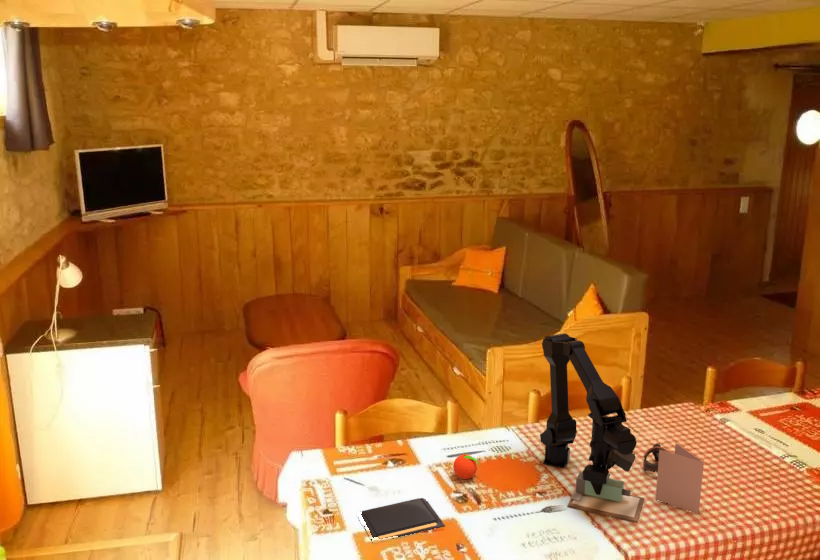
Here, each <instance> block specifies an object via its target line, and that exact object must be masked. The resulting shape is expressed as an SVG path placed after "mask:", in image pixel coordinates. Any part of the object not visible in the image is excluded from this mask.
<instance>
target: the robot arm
mask: <svg viewBox="0 0 820 560" xmlns="http://www.w3.org/2000/svg"><path fill="white" fill-rule="evenodd" d="M541 346H542V352H543V356H544V358H545V360H546V361H547V362H548V364H549V375H550V376H549V377H550V398H551V399H550V400H551V403H550V404H551V412H550V414H549V416H548V418H547V420H546V425H545V426H546V429H545V430H544V431H543V432H541V433H540V435H539V439H540V443H542V444H543V445H544V446H545V447H544V460H542V464H543V465H547V466H552V467H556V468H557V467H558V468H561V469H562V468H563V469H564V468H566V466H567V464H569V462H570V461H571V459H570V455H571V448H570V447H569V445H570V444H574V442H575V439H576V437H577V433H578V430H577V420H576V419H575V418H573V417H572V415H571V414H570V411H569V410H570V407H569V406H570V405H569V403H570V402H569V382H568V381H569V377H568V364H569V362H570V363H571V365H572V367H573V369H574V370H575V372H576V373H577V375H578V378H579V379H580V382H581V383H582V385H583V387H584V389H585V391H586V397H585V401H586V403H587V406H588V408H589V411H590V413H588V414H587V417H589V418H590V419H592V423H591V424H592V425H591V440H590V442H589V448H590V455H589V456H588V457H589V458H588V461H589V462H592V464H590V463H589V464H587V465H585V467H584V469H583V471H582V472H583V473H582V479H583V480H586V481H590V482H591V484H592V486H593V489H594V491H595V493H596V494H597V495H600V493H601V490H602V486H603V484H606V483H607V481H608V479H610V476H611V474H610V471H609V470H610V469H612V468H613V467H614V466H616V467H618V468H620V469H622V470H623V471H624V472H627V473H628V472H630V471H631V468H632V466H633V464H634V462H635V460H636V453H634V450H635V449H636V446H637V441H638V440H637V438H636V437H635V435H634V434H632V433H631V431H632V430H631V428H630V427H627V426H625V425H624V424H623V423H626V422H627V420H628V419H627V417H626V414H627V413H626V412H625V410H624V408H623V405H622V402H621V400H620V397H619V396H618V394H617V393H616V391H615V390H614V389H613V388H612V387H611V386H610V385H608V384H607V383H605V382H604V380H603V379H602V377H601V376H600V374H599V372H598V370H597V369H596V367H595V365H594V363H593V361H592V359H591V358H590V356H589V354H588V353H587V350H586V347H585V343H584V342H583V341H582V340H578V338H576V337H573V336H570V335H569V334H567V333H557V334H551V335H550V334H549V335H546V336H545V337H544V338H543V339H542V343H541ZM614 414H615V415H614ZM608 415H612V416H608Z"/></svg>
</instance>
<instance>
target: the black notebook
mask: <svg viewBox="0 0 820 560" xmlns="http://www.w3.org/2000/svg"><path fill="white" fill-rule="evenodd" d="M426 500H427V499H426V498H423V497H420V498H419V497H418V498H415V499H410V500H404V501H401V502H396V503H391V504H387V505H382V506H377V507H375V508H370V509H365V510H362V514H361V515H362V517H363V519H364V521H365V522H366V525H367V527H368V528H369V530H370V533H371V535H372V537H373V538H374V537H378V538H379V539H383V538H388V537H393V536H398V537H400V536H404V537H406V536H405V535H408V536H411V535H410V534H412V535H415V534H414V533H416V534H419V532H420V533H422V532H421V531H424V530H428V531H431V529H432V530H435V529H434V528H436V529H439V528H444V527H446V525H445V524H444V523H443V521H442V519H441V517H440V516H439V515H438V514H437V512H436V511H435V510H434V508H433V507H432V506H431V504H430V503H429V501H426ZM424 532H425V531H424ZM400 538H401V537H400Z"/></svg>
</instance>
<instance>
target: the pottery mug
mask: <svg viewBox="0 0 820 560" xmlns="http://www.w3.org/2000/svg"><path fill="white" fill-rule="evenodd" d="M659 450H663V451H666V452H669V453H672V452H671V451H670V450H668V449H666V448H665V447H663V446H661V444H660V443H655V444H653V446H652V447H650V448H649V449H647V450H646V451H645V452H644V453H643V458H644V459H643V463H642V466H643V471H645V472H646V471H647V472H651V473H656V472H657V473H658V462H659ZM650 454H652V455H653V457H654V460H655V462H656V463H651V462H650V461H648V460H647V459H648V456H649V455H650Z"/></svg>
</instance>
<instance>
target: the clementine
mask: <svg viewBox="0 0 820 560" xmlns="http://www.w3.org/2000/svg"><path fill="white" fill-rule="evenodd" d="M478 465H479V467H481V465H480V463H479V462H478V460H477V459H476V458H474V457H473V456H472V455H470V454H466V453H463V454H461V455H458V456H457V457H456V458H455V459H454V461H453V464H452V467H453V468H452V469H453V472H454V474H455V475H456V476H457V477H458V478H460V479H462V480H469V479H471V478H473V477H474V476H475V475H476V473H477V470H478Z"/></svg>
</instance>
